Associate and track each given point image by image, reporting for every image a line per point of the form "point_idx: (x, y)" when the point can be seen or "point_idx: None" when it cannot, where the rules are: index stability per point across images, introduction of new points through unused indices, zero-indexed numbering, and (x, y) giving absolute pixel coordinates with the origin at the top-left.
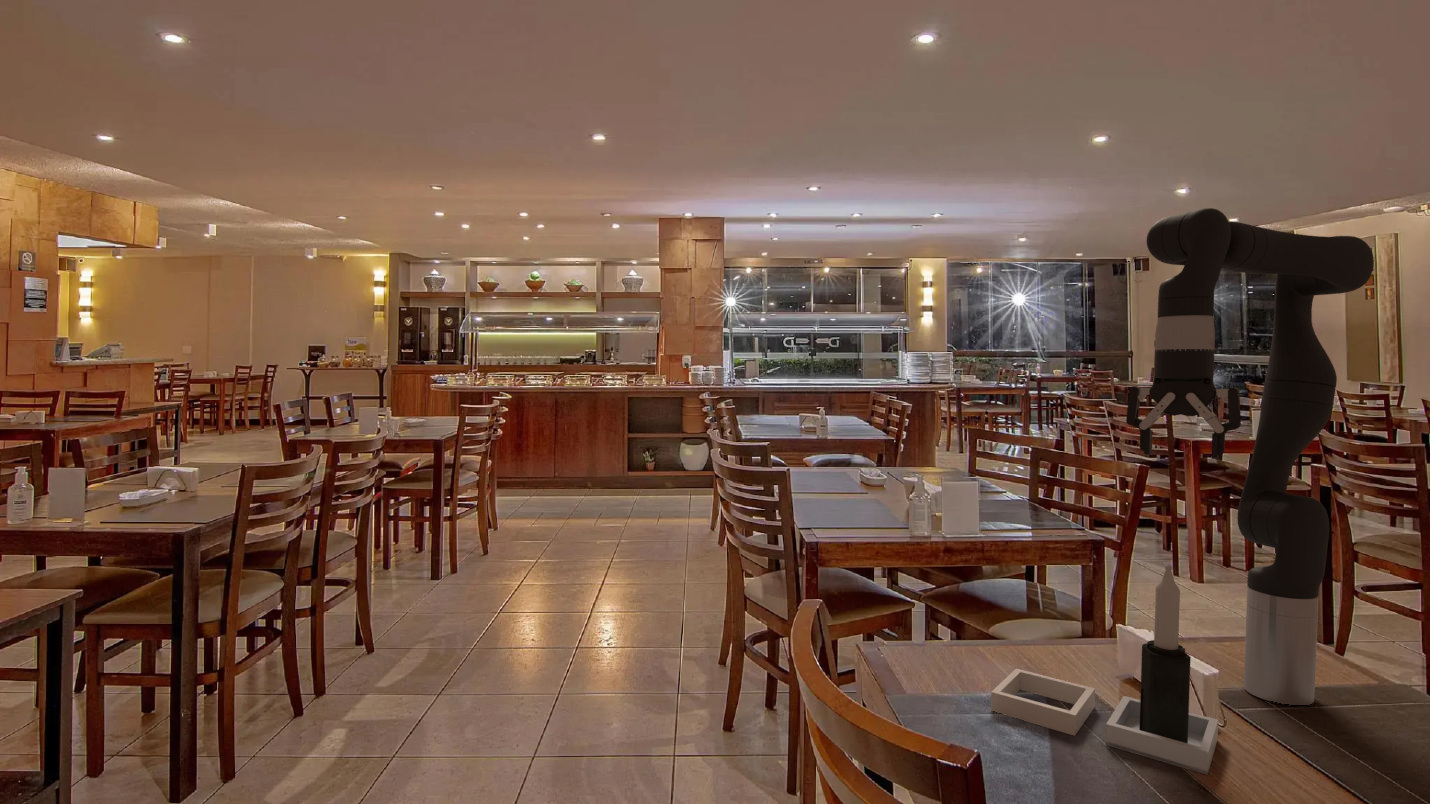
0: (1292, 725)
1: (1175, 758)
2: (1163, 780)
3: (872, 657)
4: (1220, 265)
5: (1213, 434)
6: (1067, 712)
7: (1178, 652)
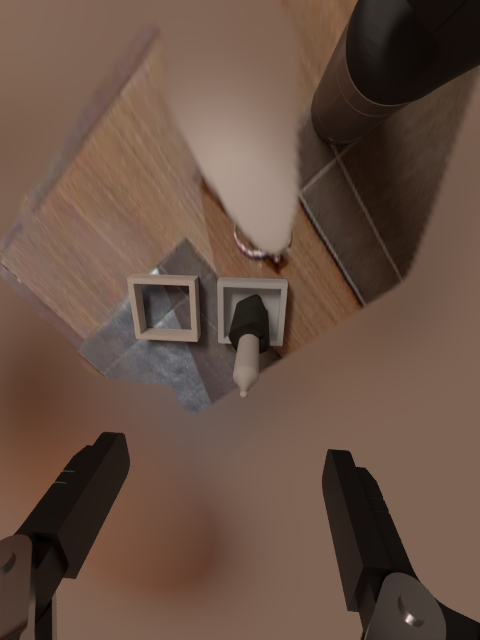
0: (345, 199)
1: None
2: None
3: (18, 290)
4: None
5: (351, 606)
6: (191, 340)
7: (260, 352)
